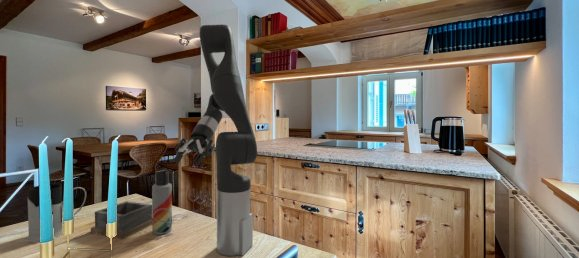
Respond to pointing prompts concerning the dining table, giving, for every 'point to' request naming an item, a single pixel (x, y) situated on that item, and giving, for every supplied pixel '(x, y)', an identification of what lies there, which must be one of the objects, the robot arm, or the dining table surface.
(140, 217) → the dark grey open box
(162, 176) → the lotion bottle
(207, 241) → the dining table surface
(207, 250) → the dining table surface
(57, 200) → the grey mug
